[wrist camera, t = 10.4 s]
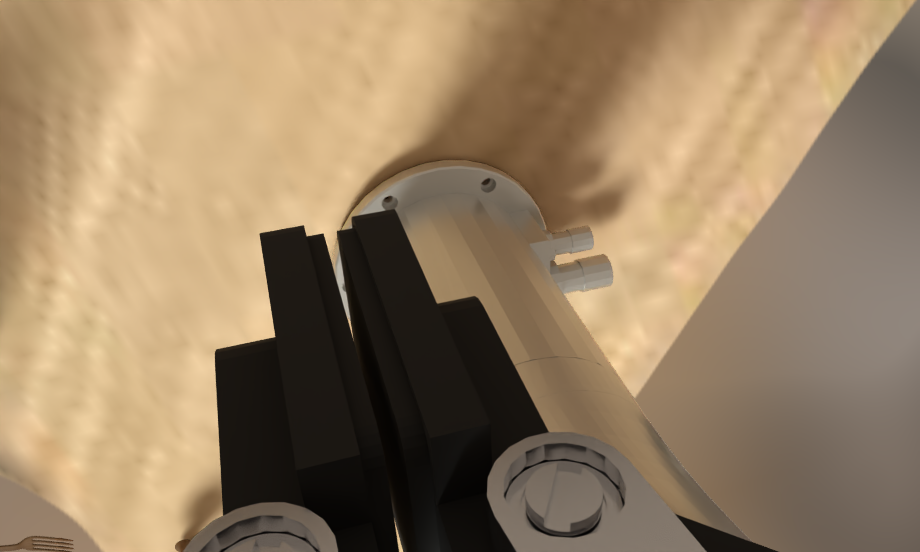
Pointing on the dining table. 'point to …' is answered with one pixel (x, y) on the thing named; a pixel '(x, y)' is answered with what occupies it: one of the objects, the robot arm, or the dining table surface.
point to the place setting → (29, 545)
